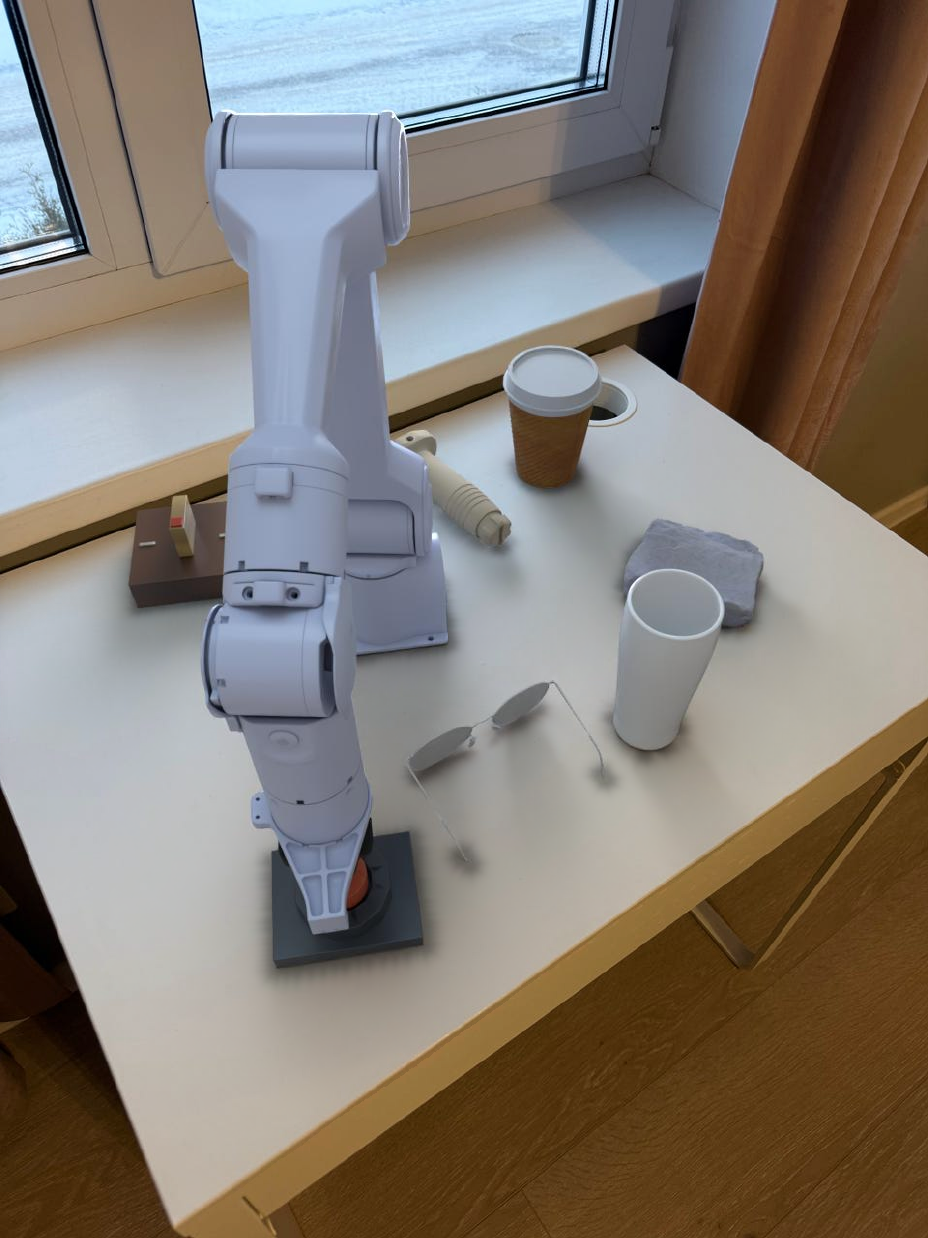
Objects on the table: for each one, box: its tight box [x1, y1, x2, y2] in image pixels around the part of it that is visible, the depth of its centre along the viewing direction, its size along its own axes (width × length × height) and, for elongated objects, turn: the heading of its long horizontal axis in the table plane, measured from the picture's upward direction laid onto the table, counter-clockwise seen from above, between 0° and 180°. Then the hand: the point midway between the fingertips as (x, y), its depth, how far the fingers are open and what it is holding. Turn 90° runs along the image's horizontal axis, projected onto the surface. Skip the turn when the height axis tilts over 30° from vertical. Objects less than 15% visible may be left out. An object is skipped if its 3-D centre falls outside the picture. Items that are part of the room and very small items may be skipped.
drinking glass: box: [612, 569, 725, 751], centre depth 67 cm, size 7×7×15 cm
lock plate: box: [127, 500, 227, 608], centre depth 84 cm, size 10×10×3 cm
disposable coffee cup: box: [502, 345, 603, 489], centre depth 90 cm, size 10×10×12 cm
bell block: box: [270, 830, 425, 969], centre depth 62 cm, size 10×8×3 cm
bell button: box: [346, 858, 369, 909], centre depth 61 cm, size 4×4×2 cm
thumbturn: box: [169, 494, 196, 557], centre depth 82 cm, size 4×1×4 cm, turn 8°
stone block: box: [622, 518, 765, 628], centre depth 82 cm, size 12×5×10 cm
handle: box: [393, 429, 513, 547], centre depth 89 cm, size 5×6×15 cm
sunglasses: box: [404, 679, 606, 862], centre depth 68 cm, size 14×8×5 cm, turn 122°
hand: (338, 869), depth 59 cm, fingers closed
